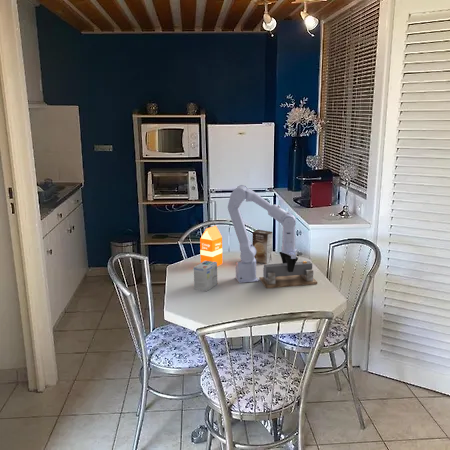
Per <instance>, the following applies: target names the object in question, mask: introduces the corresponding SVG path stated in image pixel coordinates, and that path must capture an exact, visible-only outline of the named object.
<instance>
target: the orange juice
mask: <svg viewBox="0 0 450 450" xmlns="http://www.w3.org/2000/svg"><path fill="white" fill-rule="evenodd" d="M199 244H200V245H199V247H200V250H199V252H200V254H199V255H200V263H202V262H203V261H213V262H217V267H219V266H221V265H223V236H222V234H221V232H220V230H219V228H218V227H217V225H214V226H210V227H207V228H205V230H204V232H203V233H202V235H201V237H200V238H199Z"/></svg>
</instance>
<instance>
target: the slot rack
mask: <svg viewBox="0 0 450 450" xmlns="http://www.w3.org/2000/svg"><path fill="white" fill-rule="evenodd" d="M262 271H263V274H262V276H260V277H259V278H258V280H259V281H260V282H261V283H262V285H263V286H264V287H265V288H266V289H273V288H285V287H296V286H297V287H298V286H308V285H318V280H316V279H315V278H314V269H313V268H312V269H309V270H306V273H305V275H293V276H280V277H275V273H274V272H270V273H268V278H266V277H265V276H264V267H263V269H262Z"/></svg>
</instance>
